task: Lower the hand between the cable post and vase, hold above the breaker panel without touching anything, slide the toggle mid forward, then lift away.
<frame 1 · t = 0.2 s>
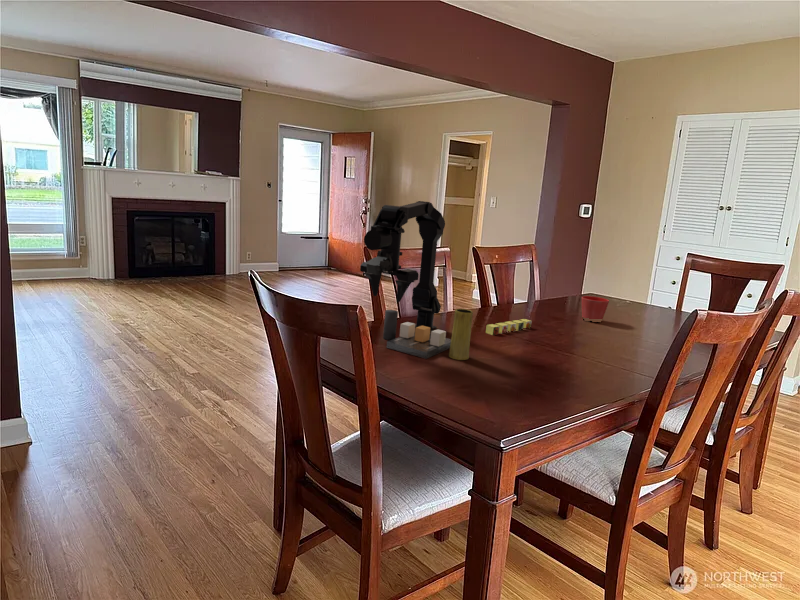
hand: (386, 298, 161), 14 cm above the table, fingers open, 9 cm apart
yellow picture block train: (514, 333, 194), on the table
toggle mid: (422, 333, 164), point 4 cm above the table, slide at 0.0 cm
flower pot: (591, 321, 224), on the table
toggle right: (438, 337, 161), point 4 cm above the table, slide at 0.0 cm
toggle left: (407, 330, 166), point 4 cm above the table, slide at 0.0 cm
cable post: (389, 338, 171), on the table
breaker panel: (421, 346, 164), on the table
vase: (458, 357, 158), on the table
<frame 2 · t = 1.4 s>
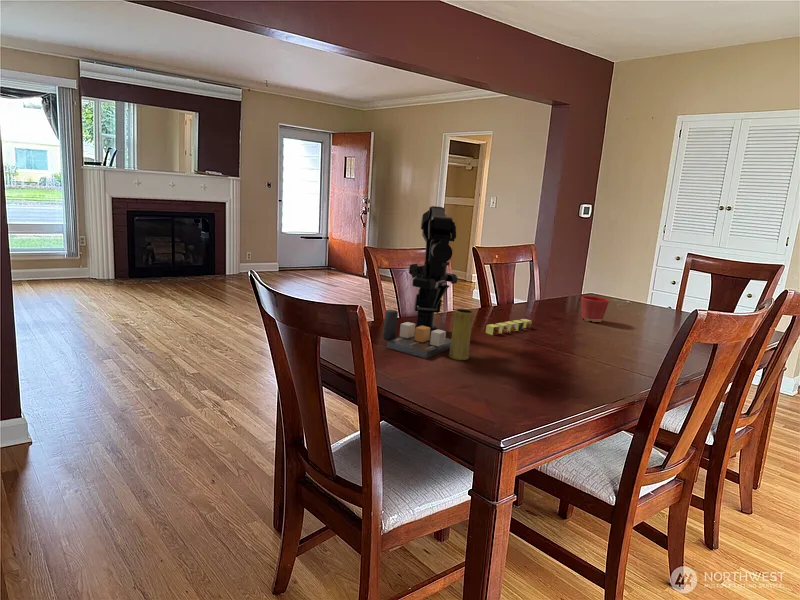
hand: (432, 307, 166), 12 cm above the table, fingers closed
nothing on the table moved.
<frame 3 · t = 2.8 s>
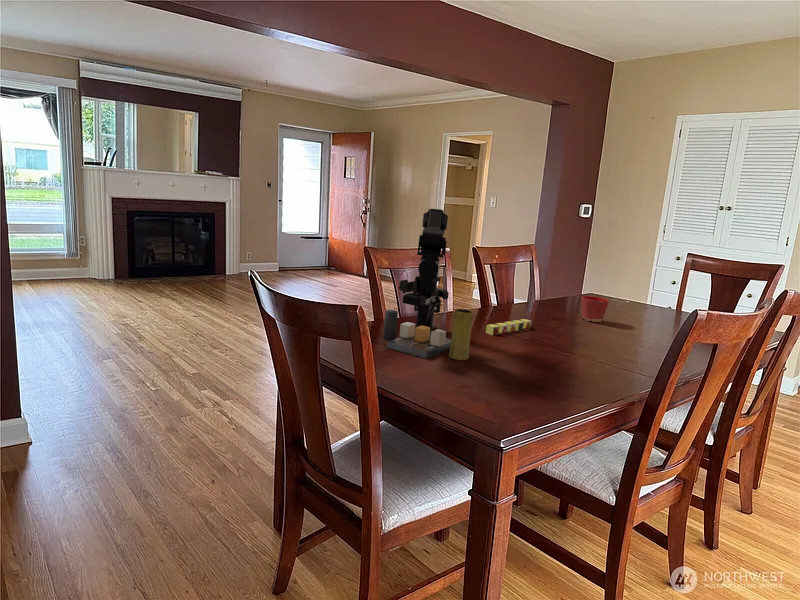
hand: (423, 323, 163), 8 cm above the table, fingers closed
nothing on the table moved.
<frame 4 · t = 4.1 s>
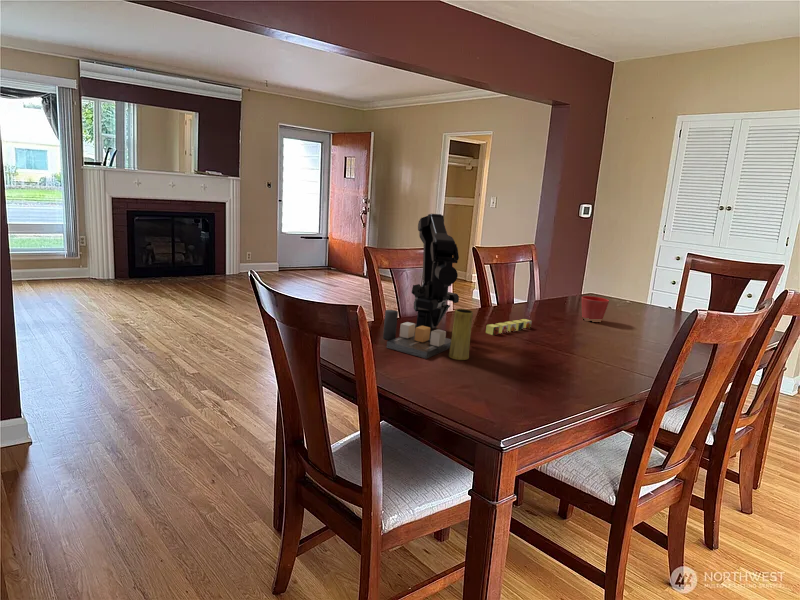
hand: (435, 326, 170), 5 cm above the table, fingers closed
nothing on the table moved.
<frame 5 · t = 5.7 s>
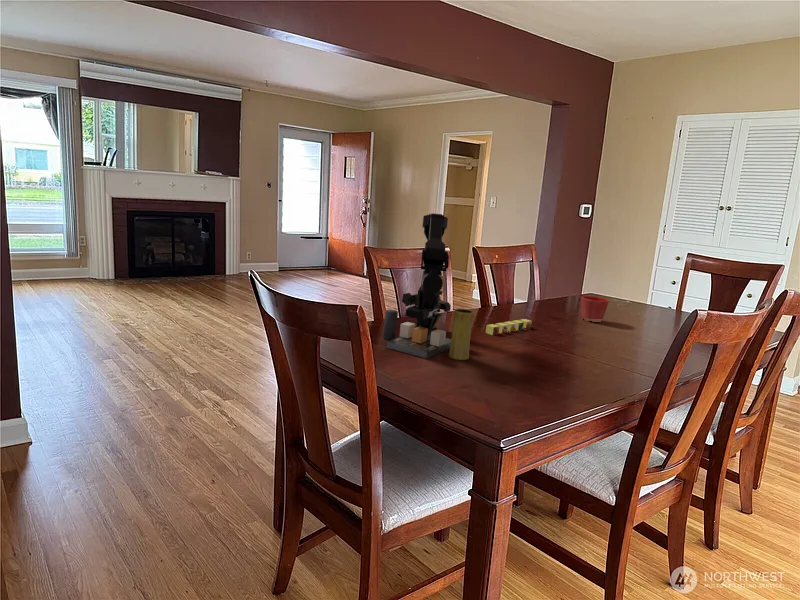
hand: (426, 335, 166), 3 cm above the table, fingers closed
toggle mid: (419, 334, 162), point 4 cm above the table, slide at 1.6 cm, touching gripper
everything else where it was.
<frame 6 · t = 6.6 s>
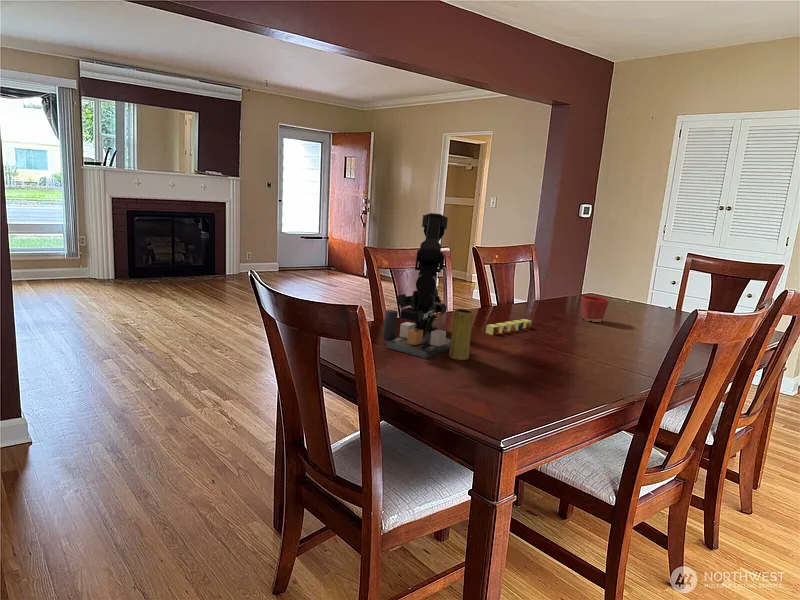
hand: (421, 337, 163), 3 cm above the table, fingers closed
toggle mid: (415, 336, 160), point 4 cm above the table, slide at 4.4 cm, touching gripper
everything else where it was.
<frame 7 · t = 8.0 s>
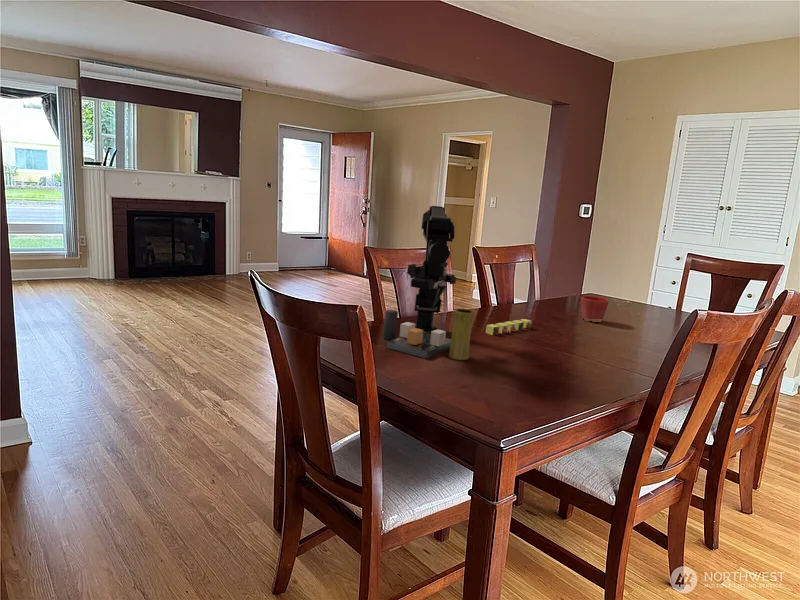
hand: (431, 307, 165), 12 cm above the table, fingers closed
toggle mid: (415, 336, 160), point 4 cm above the table, slide at 4.4 cm
everything else where it was.
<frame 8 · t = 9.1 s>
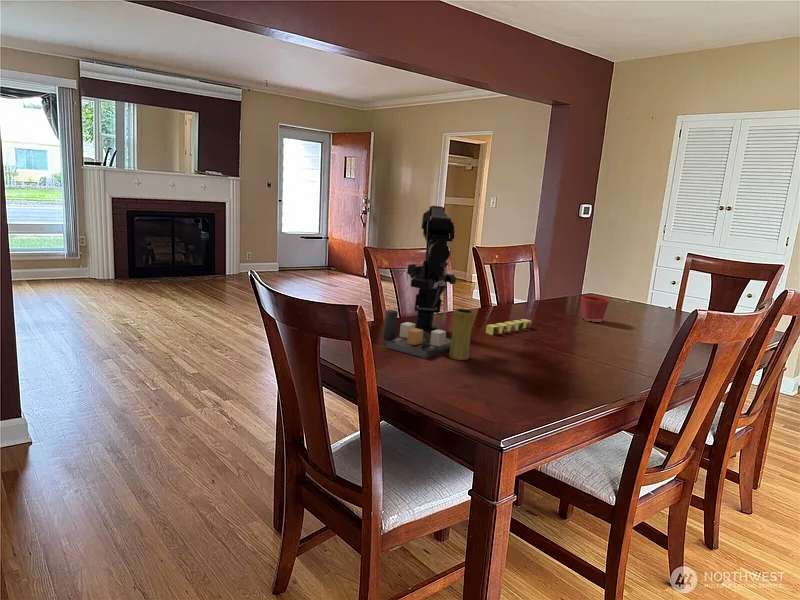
hand: (431, 307, 165), 12 cm above the table, fingers closed
nothing on the table moved.
at the end: toggle mid slide at 4.4 cm; toggle left slide at 0.0 cm; vase moved 0.2 cm from its start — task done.
